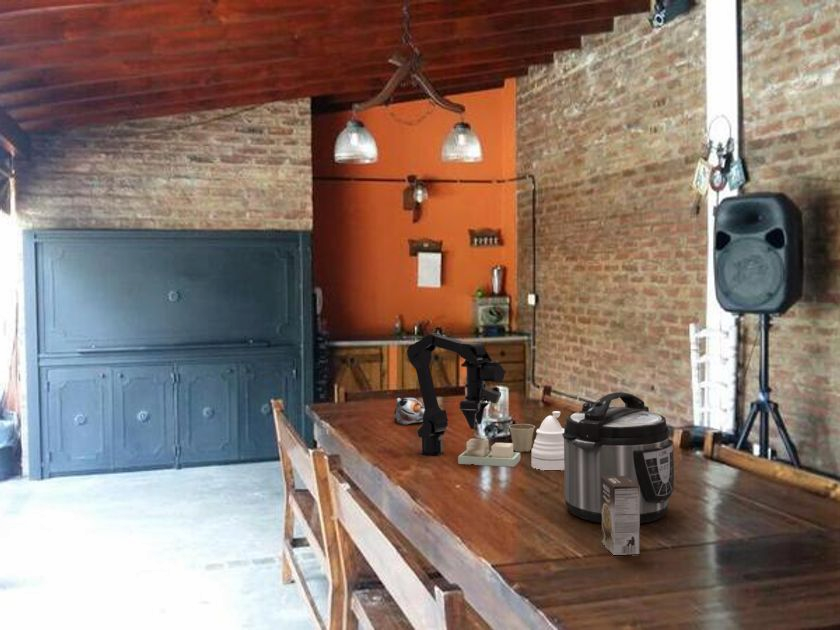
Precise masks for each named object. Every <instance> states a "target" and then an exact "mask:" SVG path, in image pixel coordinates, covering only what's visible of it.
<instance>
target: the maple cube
mask: <svg viewBox="0 0 840 630" xmlns="http://www.w3.org/2000/svg"><path fill="white" fill-rule="evenodd" d="M489 444H490V443H489V439H488V438H486V439H485V438H470V439H468V440H467V441H466V450H467V456H474V457H486V456H487V455H488V454H489V451H490V450H489V449H490V448H489V446H490V445H489Z"/></svg>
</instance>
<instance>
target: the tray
mask: <svg viewBox="0 0 840 630" xmlns="http://www.w3.org/2000/svg"><path fill="white" fill-rule="evenodd" d="M520 461H521V452H516V451H515V452H514V450H513V442H511V443H509V442H495V443H494V444H492V445H491V450H489V454H488V455H487V456H486V457H474V456H467V449H466V450H464V451H463V452H462V453H460V454H459V455H458V457H457V463H458V464H459V465H471V464H474V465H475V466H489V465H490V466H491V467H493V466H494V467H509V468H514V467H516V466H517V465H518V464H519V462H520Z"/></svg>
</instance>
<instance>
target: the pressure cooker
mask: <svg viewBox="0 0 840 630" xmlns="http://www.w3.org/2000/svg"><path fill="white" fill-rule="evenodd" d="M616 399H621V401H622V402H623V404H624V406H615V407H610V406H611V403H612V401H613V400H616ZM666 419H667V418H666V417H664V415H661V414H659V413H655V412H650V409H649V406H646V405H645V401H643V400H642V399H641V398H640V397H638V396H636V395H633V394H631V393H628V392H621V391H620V392H612V393H608V394H606V395H604V396H602V397H600V398H599V399H597V400H596V401H595V402H594V401H586V402H584V403H583V404H582V408H581V410H580V411H576V412H572V413H570V414H568V415H567V416H566V419H565V420H566V424H564V425H563V426H564V427H563V429H564V433H562V435H563V438H564V470H563V471H564V475H563V477H564V501H565V504H566V507H567V508H568V510H569V511H570V513H571V514H572V515H574V516H576V517H578V518H580V519H583V520H586V521H591V522H596V523H601V524H602V508H601V477H602V476H627V477H629V478H630V479H631V480H632V481H634V482H635V483H636V484H638V485H639V486H640V524H645V523H650V522H653V521H656V520H659V519H661V518H662V517H664V516H665V515H666V513H667V512H668V508H669V505H670V498H671V495H672V493H673V491H674V488H675V487H674V486H675V483H674V482H675V469H674V467H675V464H674V463H675V460H674V441H673V440H672V439H670V435H669V433H670V432H669V427H668V426H667V420H666Z"/></svg>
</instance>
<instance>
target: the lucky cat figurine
mask: <svg viewBox="0 0 840 630" xmlns="http://www.w3.org/2000/svg"><path fill="white" fill-rule="evenodd" d="M395 404H396V407H395V409H394V418H393V419H394V421H395V422H396V423H397V424H398V425H405V426H406V425H410V424H417V423H423V414H424V411H425V407H424V405H423V404H422V402H421V401H419V400H417V399H416V398H415V397H405V398H403V397H402V398H400V397H398V398H396V402H395Z"/></svg>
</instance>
